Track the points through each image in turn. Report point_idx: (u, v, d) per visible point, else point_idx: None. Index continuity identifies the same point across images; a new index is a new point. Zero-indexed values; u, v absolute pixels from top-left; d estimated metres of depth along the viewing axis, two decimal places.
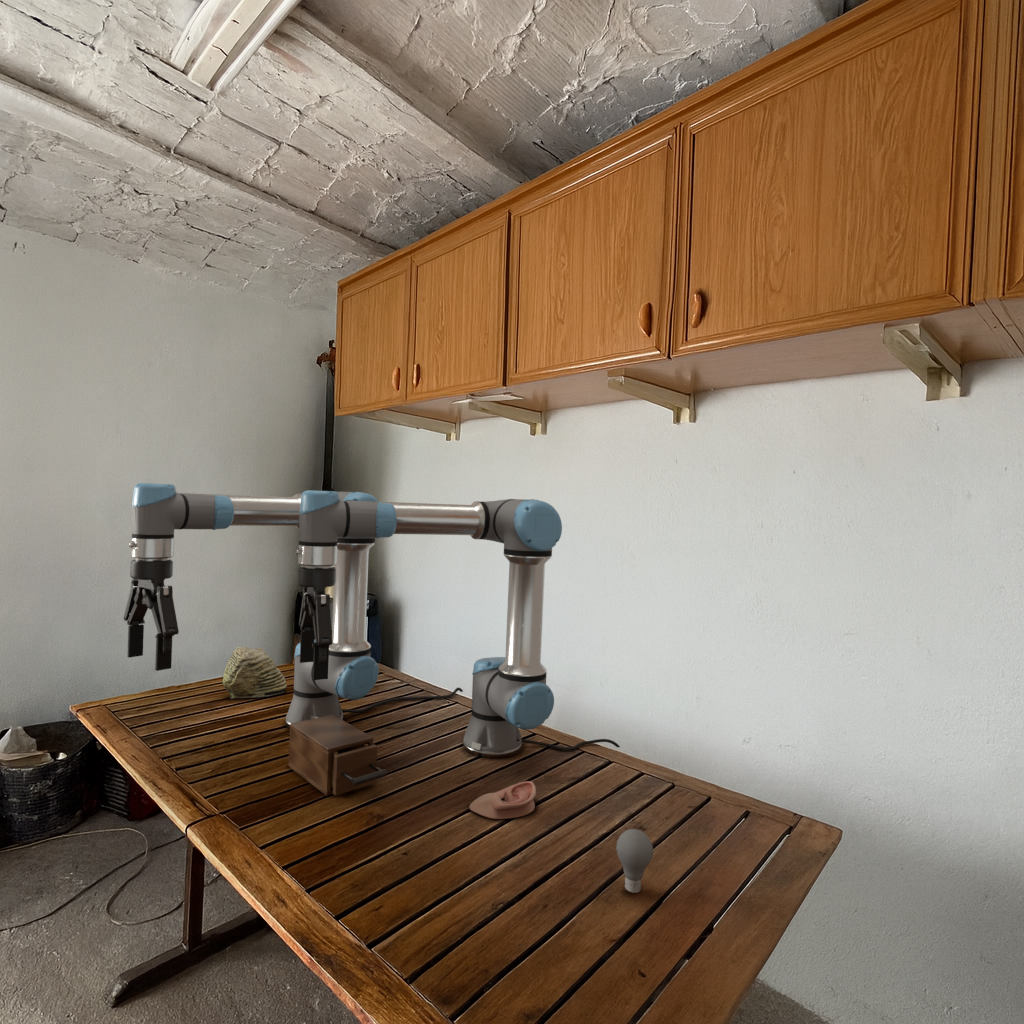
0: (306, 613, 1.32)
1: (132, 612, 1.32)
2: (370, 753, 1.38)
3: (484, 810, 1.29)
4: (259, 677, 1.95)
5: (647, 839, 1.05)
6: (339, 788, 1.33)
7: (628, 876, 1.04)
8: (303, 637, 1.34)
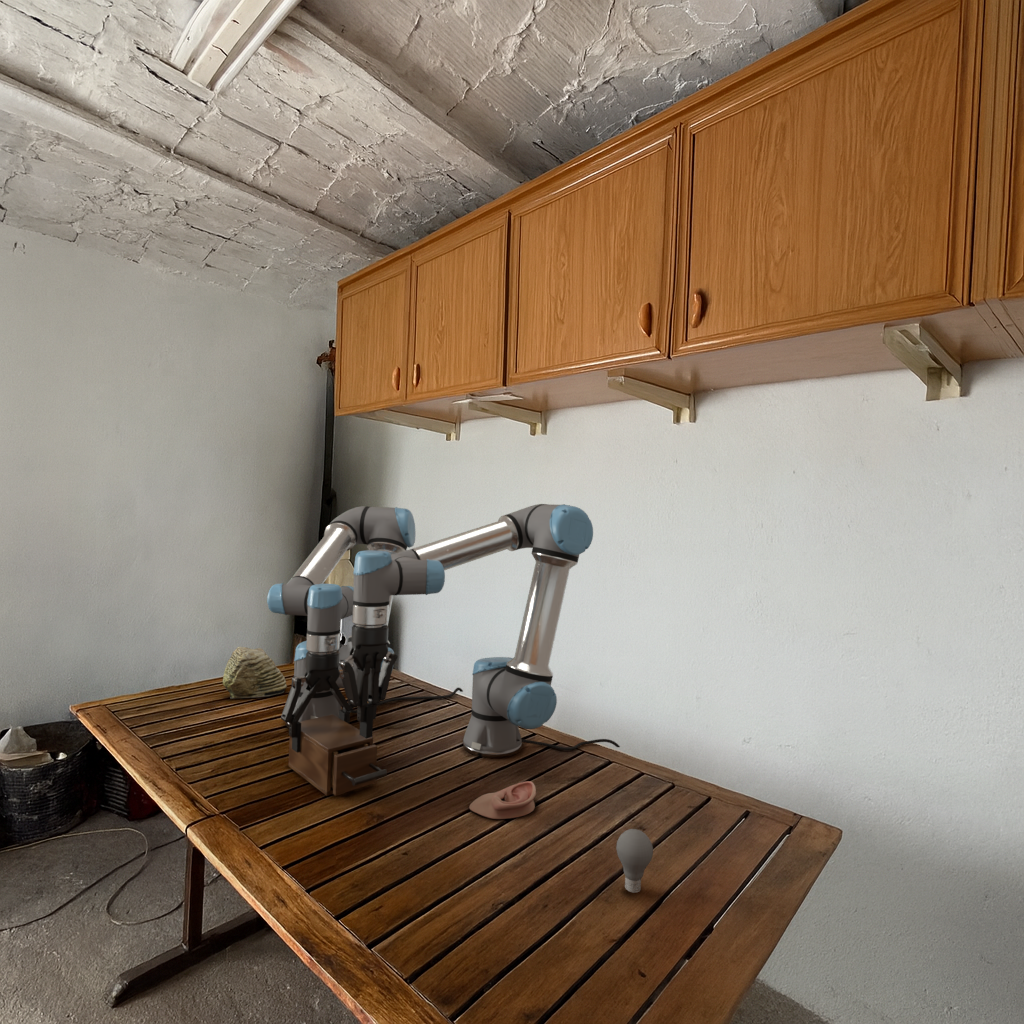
0: None
1: (303, 708, 1.44)
2: (370, 753, 1.38)
3: (484, 810, 1.29)
4: (259, 677, 1.95)
5: (647, 839, 1.05)
6: (339, 788, 1.33)
7: (628, 876, 1.04)
8: None
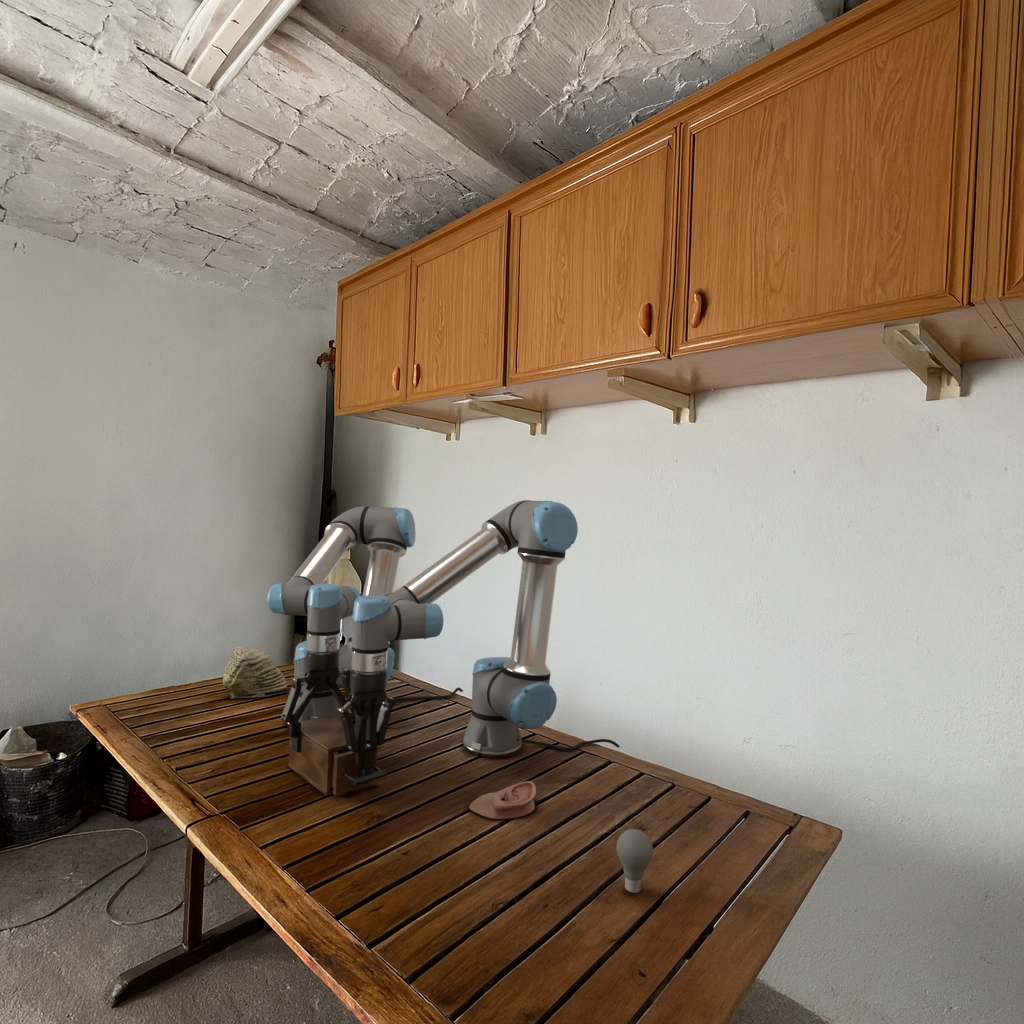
0: None
1: (303, 708, 1.44)
2: None
3: (484, 810, 1.29)
4: (259, 677, 1.95)
5: (647, 839, 1.05)
6: (339, 788, 1.33)
7: (628, 876, 1.04)
8: None
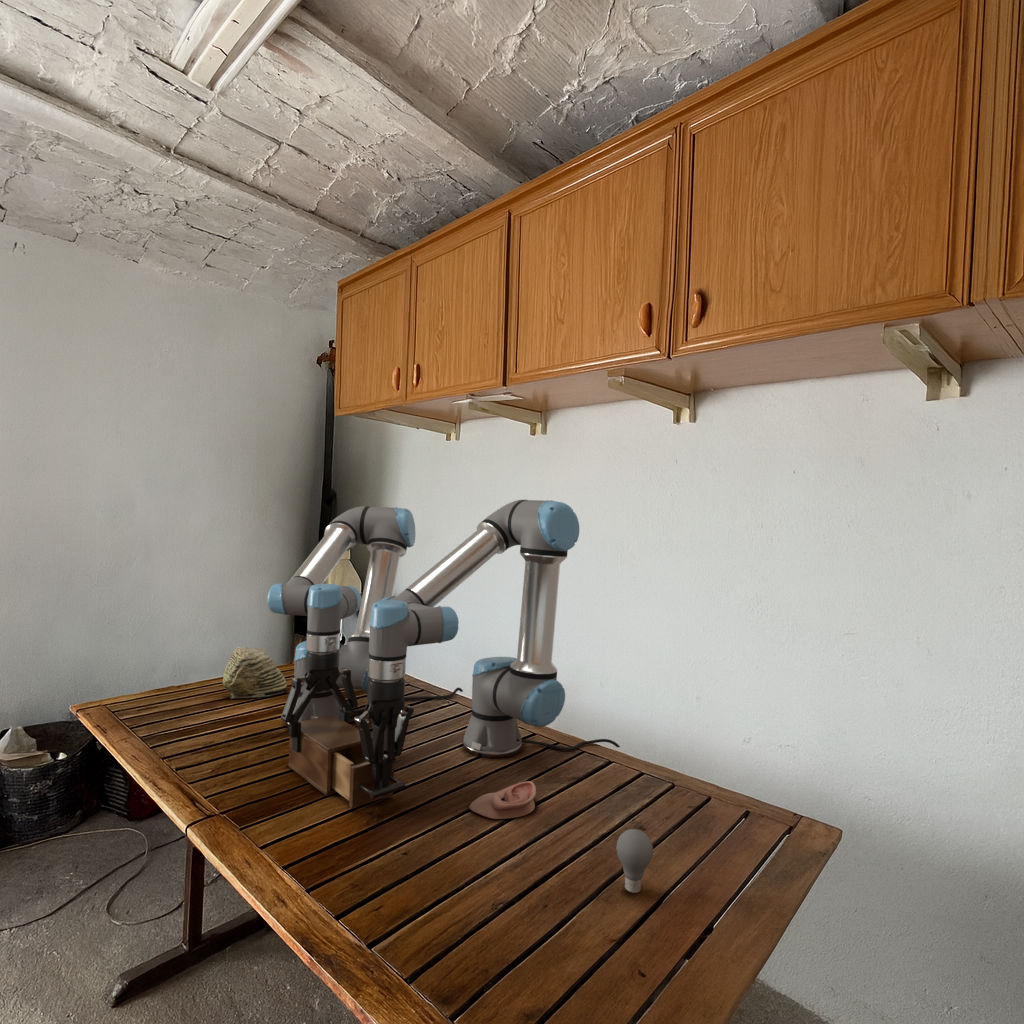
0: None
1: (303, 708, 1.44)
2: None
3: (484, 810, 1.29)
4: (259, 677, 1.95)
5: (647, 839, 1.05)
6: (355, 801, 1.28)
7: (628, 876, 1.04)
8: None
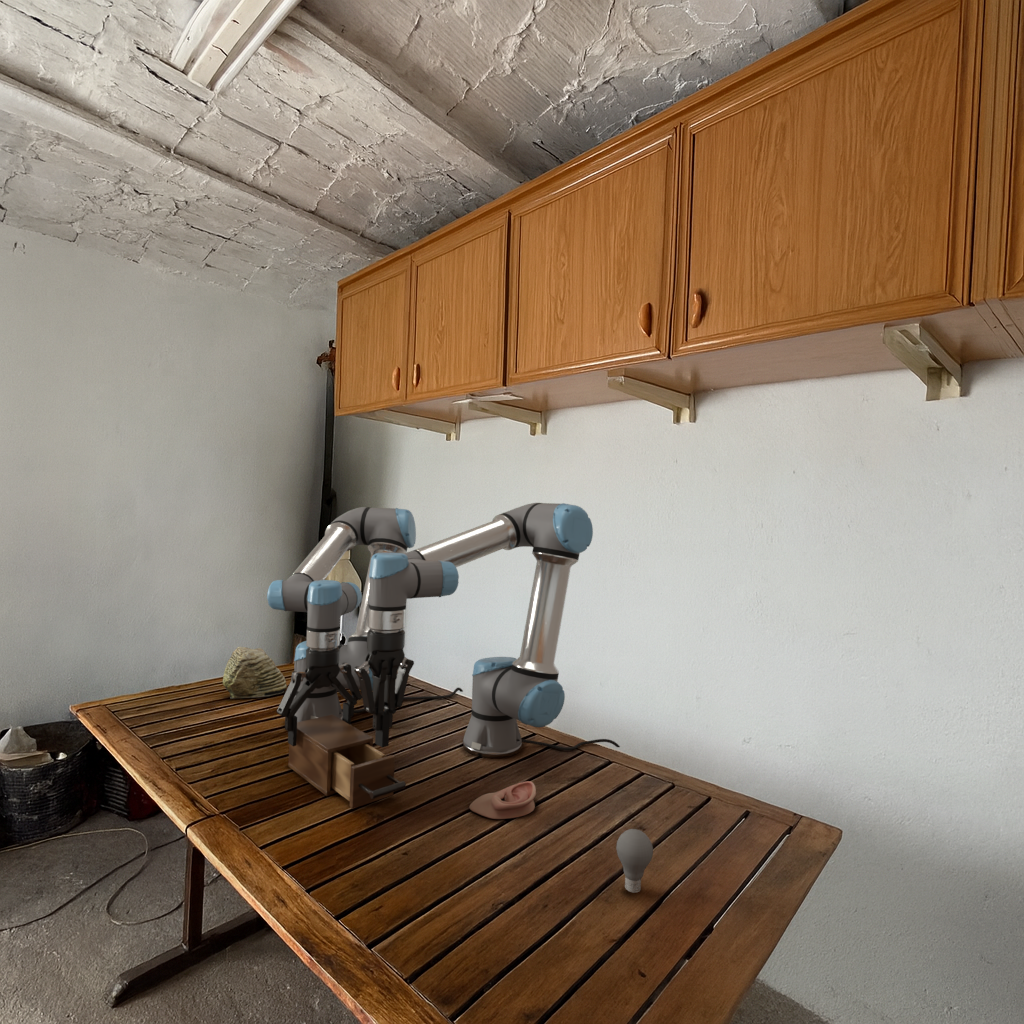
0: None
1: (300, 702, 1.43)
2: (388, 764, 1.33)
3: (484, 810, 1.29)
4: (259, 677, 1.95)
5: (647, 839, 1.05)
6: (356, 801, 1.28)
7: (628, 876, 1.04)
8: None
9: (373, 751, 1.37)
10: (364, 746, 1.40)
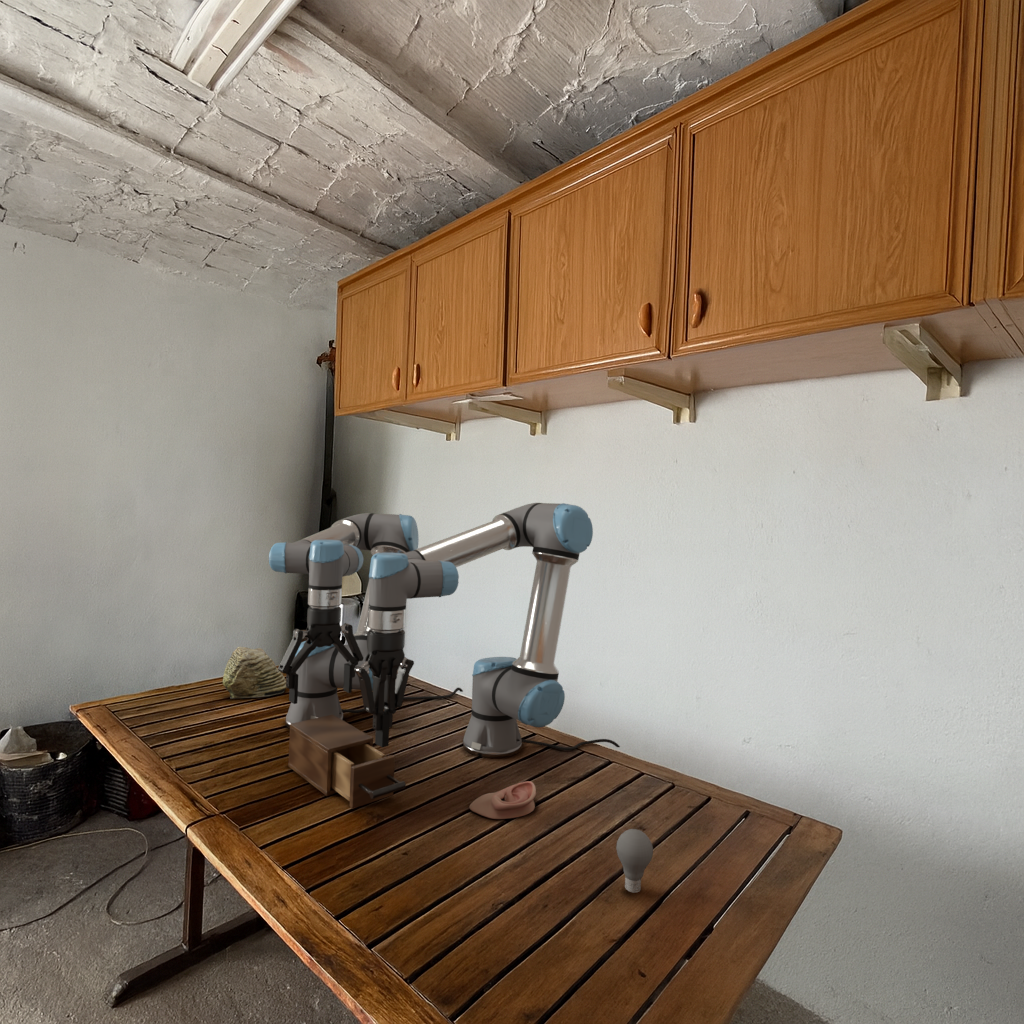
0: None
1: (301, 660, 1.43)
2: (388, 764, 1.33)
3: (484, 810, 1.29)
4: (259, 677, 1.95)
5: (647, 839, 1.05)
6: (356, 801, 1.28)
7: (628, 876, 1.04)
8: None
9: (373, 751, 1.37)
10: (364, 746, 1.40)
